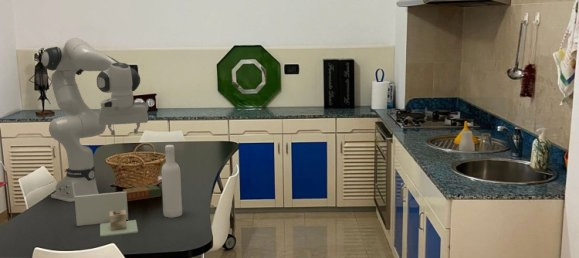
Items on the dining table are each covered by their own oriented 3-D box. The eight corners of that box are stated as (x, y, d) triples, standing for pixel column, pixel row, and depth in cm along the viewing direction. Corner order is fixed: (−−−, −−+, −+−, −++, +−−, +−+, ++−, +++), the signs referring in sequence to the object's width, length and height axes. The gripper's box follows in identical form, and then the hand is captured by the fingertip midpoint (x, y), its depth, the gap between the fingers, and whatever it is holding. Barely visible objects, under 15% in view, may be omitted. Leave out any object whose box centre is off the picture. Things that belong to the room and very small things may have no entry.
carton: (122, 197, 275) (122, 188, 274) (155, 192, 283) (155, 184, 282) (127, 201, 268) (126, 192, 267) (161, 196, 275) (160, 187, 275)
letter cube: (110, 230, 227) (109, 215, 226) (110, 225, 233) (109, 211, 232) (126, 228, 229) (125, 214, 228) (126, 224, 235) (125, 209, 234)
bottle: (173, 210, 253) (170, 142, 248) (186, 213, 249) (183, 145, 243) (159, 215, 247) (155, 146, 241) (172, 219, 242) (169, 148, 237)
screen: (76, 225, 235) (74, 197, 233) (77, 224, 237) (74, 196, 234) (128, 220, 241) (126, 192, 239) (128, 219, 243) (126, 191, 240)
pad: (100, 236, 223) (100, 235, 222) (100, 225, 236) (100, 223, 236) (137, 232, 227) (137, 231, 227) (135, 221, 240) (135, 219, 240)
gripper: (147, 99, 251) (149, 131, 254) (97, 102, 245) (99, 134, 248) (148, 101, 245) (150, 133, 248) (97, 103, 239) (99, 137, 242)
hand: (124, 134), depth 248 cm, fingers open, 8 cm apart
